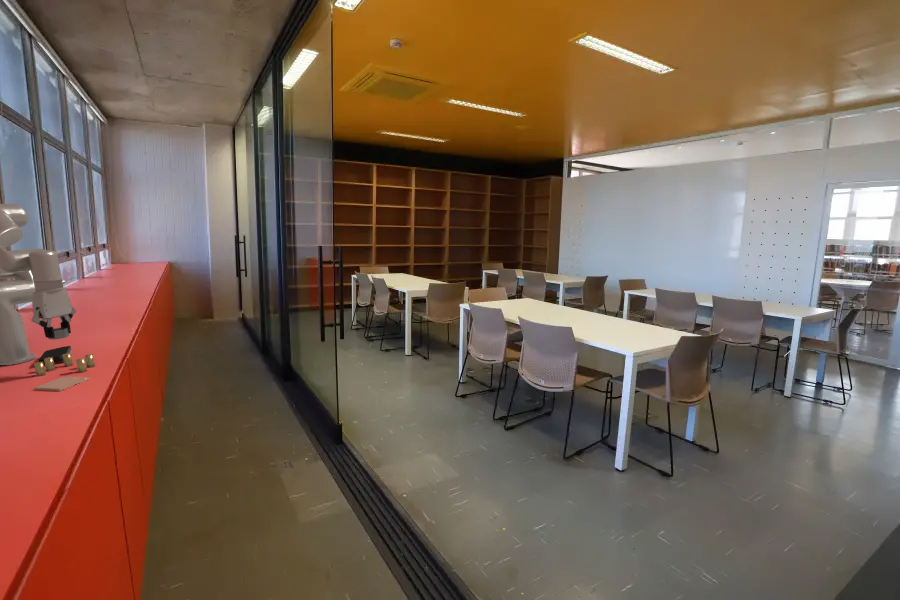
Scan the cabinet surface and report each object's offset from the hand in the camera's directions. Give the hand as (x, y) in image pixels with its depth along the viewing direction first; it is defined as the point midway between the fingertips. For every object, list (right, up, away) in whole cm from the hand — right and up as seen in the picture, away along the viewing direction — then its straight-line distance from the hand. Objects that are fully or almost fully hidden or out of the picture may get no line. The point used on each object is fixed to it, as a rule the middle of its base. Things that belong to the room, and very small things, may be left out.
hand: (58, 334), depth 160 cm
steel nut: (0, -1, 0) cm, 1 cm away
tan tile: (+11, -16, -11) cm, 23 cm away
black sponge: (-15, -12, +16) cm, 25 cm away
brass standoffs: (+1, -13, +2) cm, 14 cm away
